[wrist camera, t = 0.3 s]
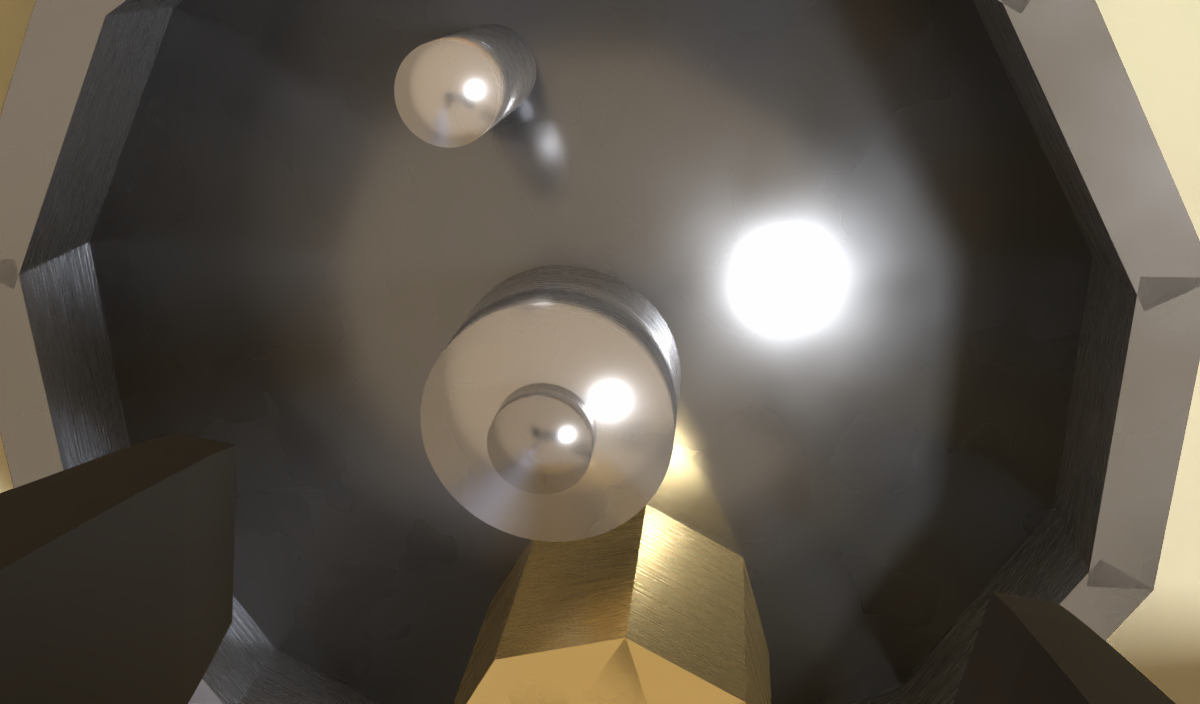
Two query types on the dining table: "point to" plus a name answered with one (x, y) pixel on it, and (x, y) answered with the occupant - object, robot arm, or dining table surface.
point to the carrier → (611, 314)
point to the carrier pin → (464, 84)
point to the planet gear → (622, 623)
